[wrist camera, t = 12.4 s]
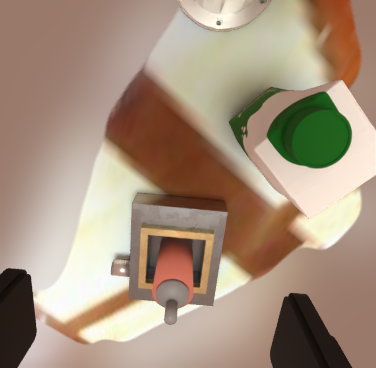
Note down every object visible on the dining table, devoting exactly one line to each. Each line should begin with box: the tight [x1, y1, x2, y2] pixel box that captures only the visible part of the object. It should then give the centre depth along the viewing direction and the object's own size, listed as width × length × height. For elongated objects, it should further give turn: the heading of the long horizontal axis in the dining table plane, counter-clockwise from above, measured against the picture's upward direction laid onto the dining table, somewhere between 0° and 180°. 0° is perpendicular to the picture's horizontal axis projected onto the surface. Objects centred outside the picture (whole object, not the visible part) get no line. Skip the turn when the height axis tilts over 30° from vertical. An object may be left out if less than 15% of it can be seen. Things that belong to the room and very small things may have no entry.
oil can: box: [152, 236, 193, 325], centre depth 37 cm, size 5×5×13 cm
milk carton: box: [229, 80, 376, 219], centre depth 28 cm, size 9×9×20 cm
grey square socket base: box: [111, 193, 228, 306], centre depth 42 cm, size 16×16×5 cm
